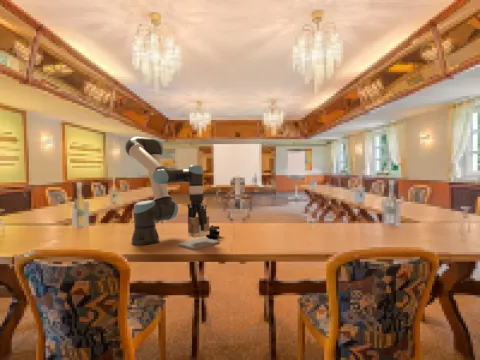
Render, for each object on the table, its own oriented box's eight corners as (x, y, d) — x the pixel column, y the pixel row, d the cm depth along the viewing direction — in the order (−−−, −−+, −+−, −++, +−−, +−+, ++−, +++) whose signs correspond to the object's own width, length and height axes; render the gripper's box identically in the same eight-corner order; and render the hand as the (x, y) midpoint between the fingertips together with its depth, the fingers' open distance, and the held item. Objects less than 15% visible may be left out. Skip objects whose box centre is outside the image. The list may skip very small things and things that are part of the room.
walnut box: (202, 215, 164) (202, 233, 165) (187, 217, 157) (188, 236, 157) (209, 216, 160) (209, 234, 160) (194, 218, 153) (195, 237, 153)
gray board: (177, 245, 157) (177, 243, 157) (203, 239, 171) (203, 237, 170) (193, 250, 148) (193, 247, 148) (219, 243, 161) (219, 241, 161)
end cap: (208, 235, 181) (208, 225, 181) (219, 235, 180) (219, 225, 180) (205, 239, 171) (204, 228, 171) (216, 239, 170) (216, 228, 170)
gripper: (213, 193, 154) (214, 237, 154) (191, 192, 167) (192, 232, 167) (202, 194, 148) (203, 239, 149) (180, 193, 161) (181, 234, 162)
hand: (197, 235), depth 158 cm, fingers closed on walnut box, 6 cm apart
